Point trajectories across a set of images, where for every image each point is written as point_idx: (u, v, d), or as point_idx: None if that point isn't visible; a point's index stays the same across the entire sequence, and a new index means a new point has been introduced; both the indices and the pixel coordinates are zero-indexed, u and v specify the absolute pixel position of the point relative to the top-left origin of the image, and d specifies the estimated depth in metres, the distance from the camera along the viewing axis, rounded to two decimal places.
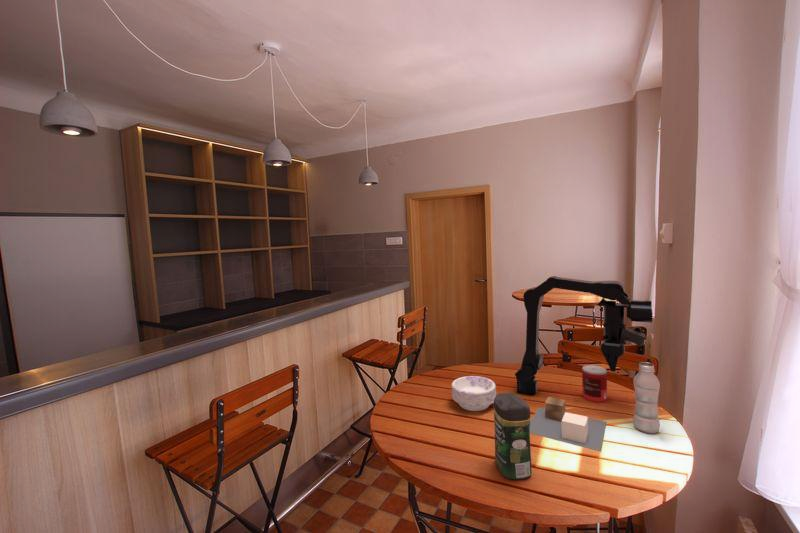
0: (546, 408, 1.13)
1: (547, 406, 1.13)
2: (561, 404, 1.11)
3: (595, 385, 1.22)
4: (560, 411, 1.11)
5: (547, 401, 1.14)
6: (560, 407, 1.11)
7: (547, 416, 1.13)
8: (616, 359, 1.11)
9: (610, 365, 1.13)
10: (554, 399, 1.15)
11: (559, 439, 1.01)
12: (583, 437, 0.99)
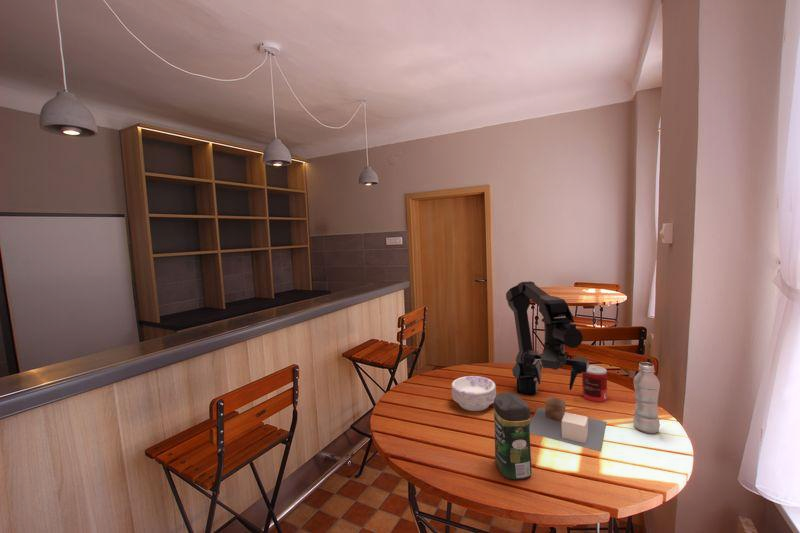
0: (546, 408, 1.13)
1: (547, 406, 1.13)
2: (561, 404, 1.11)
3: (595, 385, 1.22)
4: (560, 411, 1.11)
5: (547, 401, 1.14)
6: (560, 407, 1.11)
7: (547, 416, 1.13)
8: None
9: None
10: (554, 399, 1.15)
11: (559, 439, 1.01)
12: (583, 437, 0.99)
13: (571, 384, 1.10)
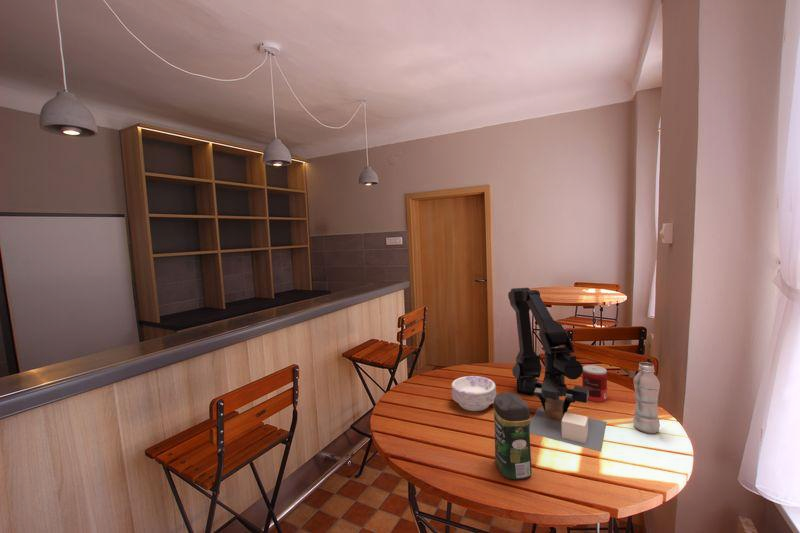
0: (546, 408, 1.13)
1: (547, 406, 1.13)
2: (561, 404, 1.11)
3: (595, 385, 1.22)
4: (560, 411, 1.11)
5: (547, 401, 1.14)
6: (560, 407, 1.11)
7: (547, 416, 1.13)
8: None
9: None
10: None
11: (559, 439, 1.01)
12: (583, 437, 0.99)
13: None
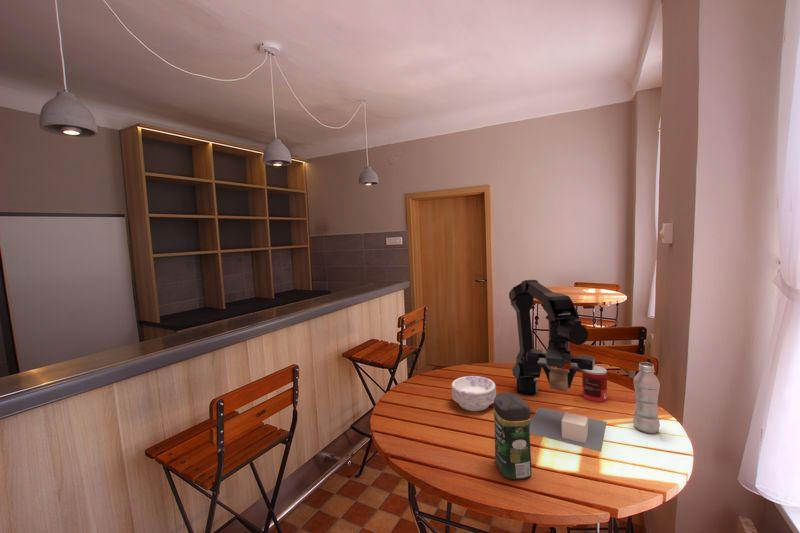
0: (550, 378, 1.09)
1: (551, 376, 1.09)
2: (566, 374, 1.08)
3: (595, 385, 1.22)
4: (565, 381, 1.07)
5: (551, 371, 1.10)
6: (565, 376, 1.07)
7: (551, 387, 1.09)
8: None
9: None
10: (558, 370, 1.11)
11: (559, 439, 1.01)
12: (583, 437, 0.99)
13: (570, 382, 1.08)
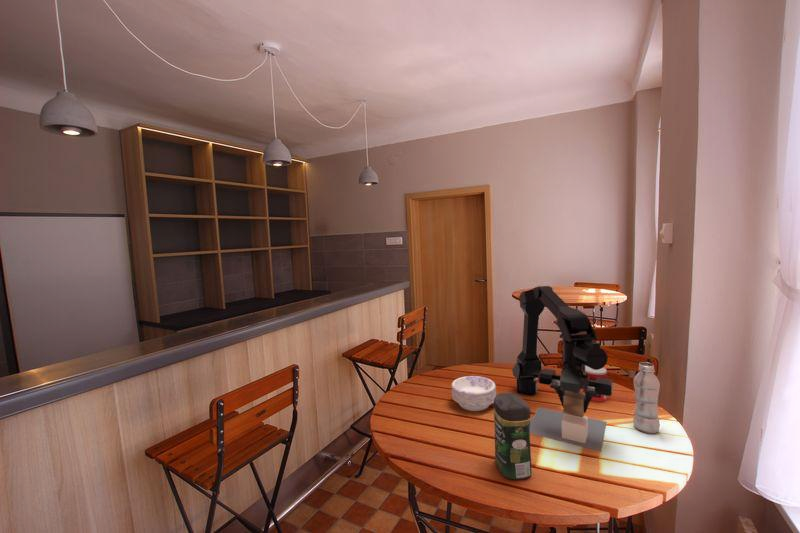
0: (564, 402, 1.01)
1: (565, 400, 1.01)
2: (581, 398, 1.00)
3: None
4: (580, 405, 0.99)
5: (565, 394, 1.02)
6: (581, 401, 0.99)
7: (565, 411, 1.01)
8: None
9: None
10: (573, 392, 1.03)
11: (559, 439, 1.01)
12: (583, 437, 0.99)
13: (586, 407, 1.00)
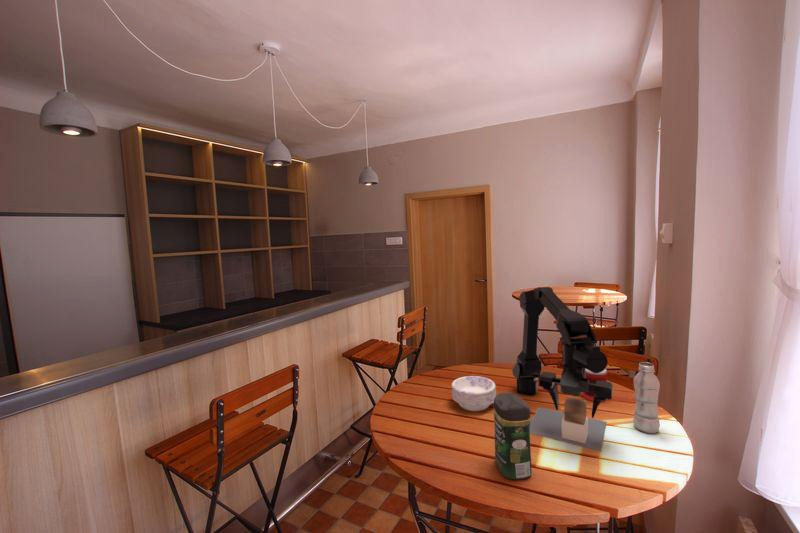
0: (565, 410, 1.01)
1: (566, 407, 1.01)
2: (582, 405, 1.00)
3: None
4: (581, 413, 0.99)
5: (566, 402, 1.02)
6: (581, 408, 0.99)
7: (566, 418, 1.01)
8: None
9: None
10: (574, 400, 1.03)
11: (559, 439, 1.01)
12: (583, 437, 0.99)
13: (593, 411, 0.99)
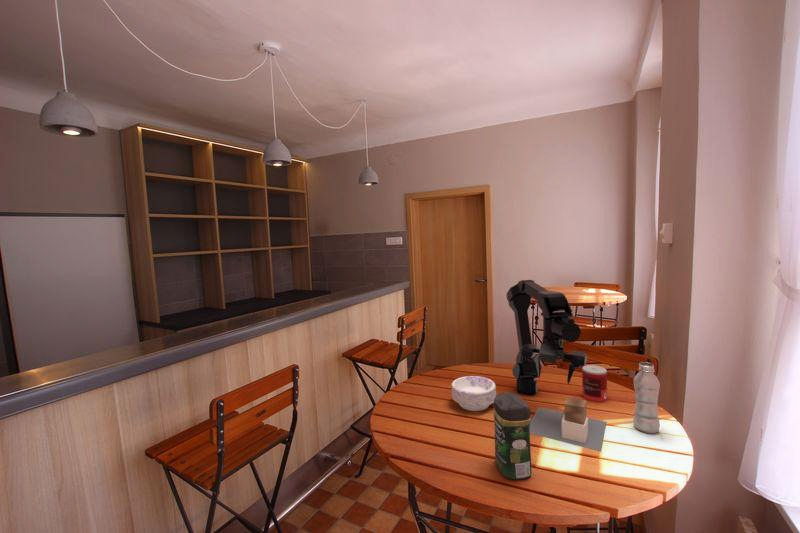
0: (565, 410, 1.01)
1: (566, 407, 1.01)
2: (582, 405, 1.00)
3: (595, 385, 1.22)
4: (581, 413, 0.99)
5: (566, 402, 1.02)
6: (581, 408, 0.99)
7: (566, 418, 1.01)
8: None
9: None
10: (574, 400, 1.03)
11: (559, 439, 1.01)
12: (583, 437, 0.99)
13: (569, 378, 1.10)
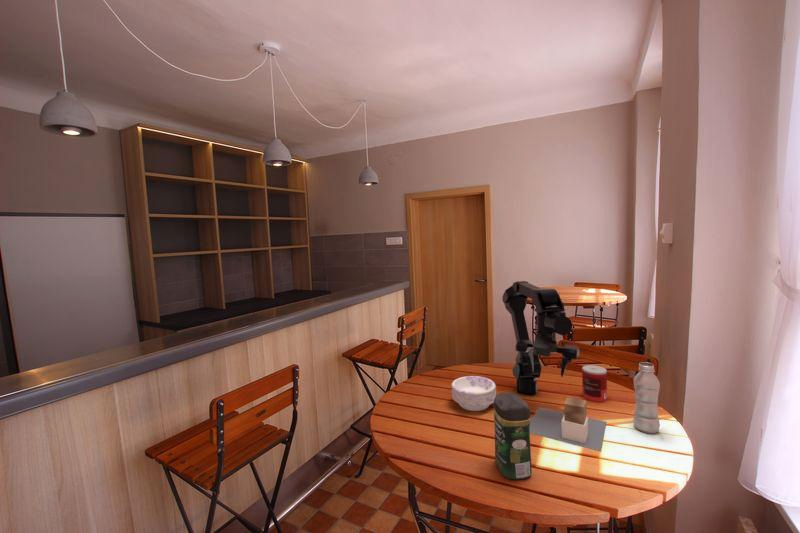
0: (565, 410, 1.01)
1: (566, 407, 1.01)
2: (582, 405, 1.00)
3: (595, 385, 1.22)
4: (581, 413, 0.99)
5: (566, 402, 1.02)
6: (581, 408, 0.99)
7: (566, 418, 1.01)
8: None
9: None
10: (574, 400, 1.03)
11: (559, 439, 1.01)
12: (583, 437, 0.99)
13: (562, 371, 1.14)
